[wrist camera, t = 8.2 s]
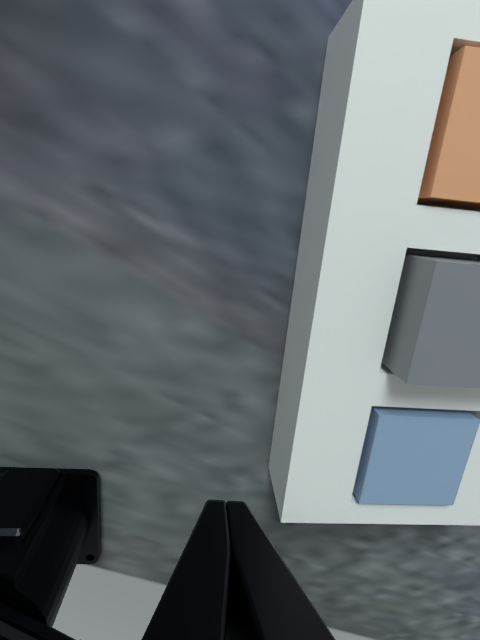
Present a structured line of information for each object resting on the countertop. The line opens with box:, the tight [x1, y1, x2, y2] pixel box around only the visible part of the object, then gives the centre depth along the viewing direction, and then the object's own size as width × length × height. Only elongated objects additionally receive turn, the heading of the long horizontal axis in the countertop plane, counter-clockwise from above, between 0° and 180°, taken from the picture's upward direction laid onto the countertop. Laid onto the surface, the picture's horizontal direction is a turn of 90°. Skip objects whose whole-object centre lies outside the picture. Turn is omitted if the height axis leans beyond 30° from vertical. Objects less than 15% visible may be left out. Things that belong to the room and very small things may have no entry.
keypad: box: [268, 0, 480, 525], centre depth 17 cm, size 22×12×4 cm, turn 175°
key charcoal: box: [382, 253, 480, 388], centre depth 15 cm, size 5×5×3 cm
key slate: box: [353, 406, 480, 505], centre depth 18 cm, size 5×5×3 cm
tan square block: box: [417, 46, 480, 210], centre depth 14 cm, size 5×5×3 cm
